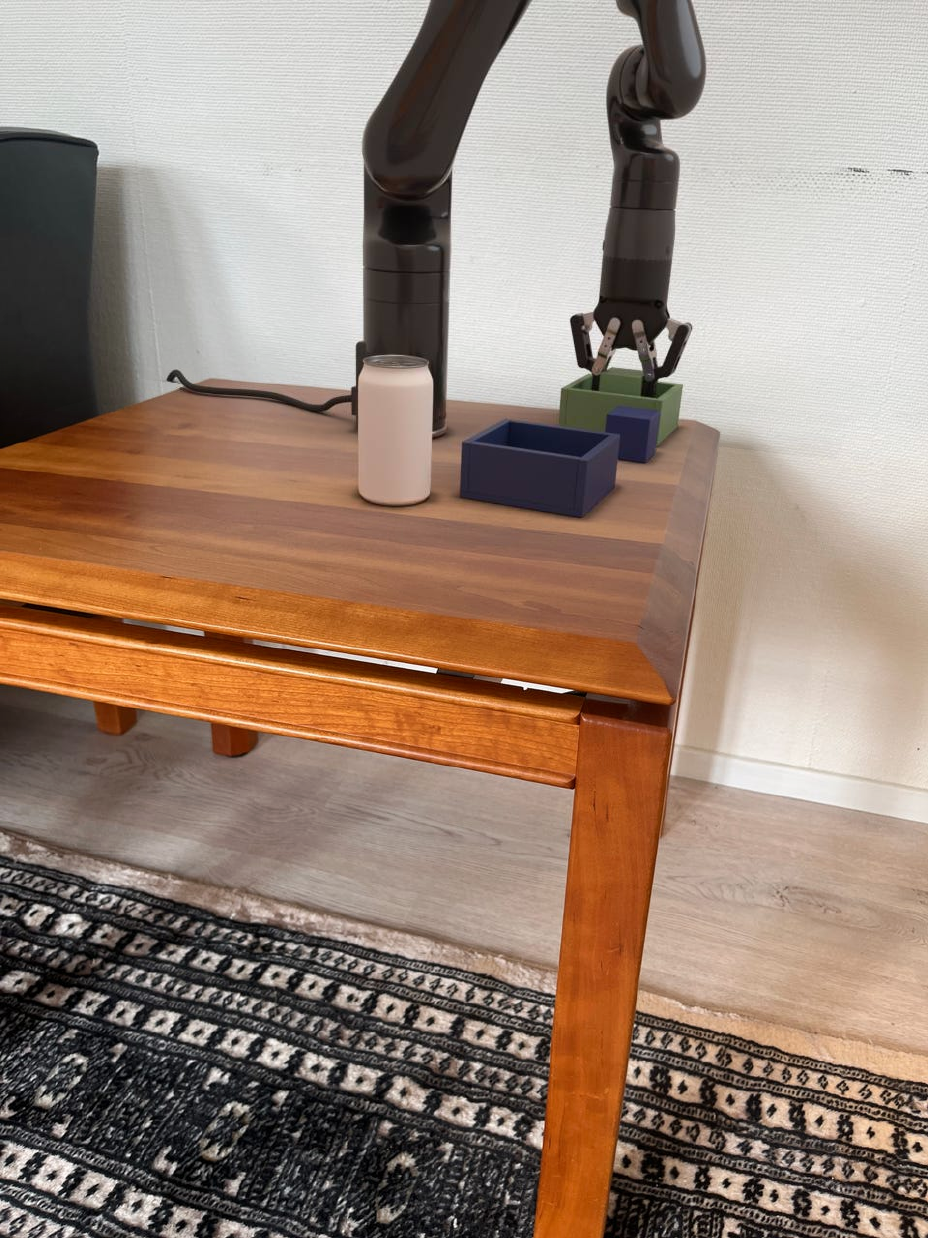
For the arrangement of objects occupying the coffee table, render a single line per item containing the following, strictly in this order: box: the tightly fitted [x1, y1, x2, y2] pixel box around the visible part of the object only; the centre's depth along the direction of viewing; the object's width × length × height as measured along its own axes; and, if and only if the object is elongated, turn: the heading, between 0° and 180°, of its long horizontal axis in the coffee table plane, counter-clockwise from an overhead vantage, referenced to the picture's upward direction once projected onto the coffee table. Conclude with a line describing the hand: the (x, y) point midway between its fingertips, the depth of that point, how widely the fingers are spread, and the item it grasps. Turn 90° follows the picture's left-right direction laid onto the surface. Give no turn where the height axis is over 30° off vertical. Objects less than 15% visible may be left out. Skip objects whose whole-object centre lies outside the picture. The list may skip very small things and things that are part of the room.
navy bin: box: [459, 418, 620, 518], centre depth 91 cm, size 12×11×5 cm
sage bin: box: [557, 372, 684, 448], centre depth 114 cm, size 12×11×5 cm
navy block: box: [605, 406, 660, 464], centre depth 104 cm, size 5×5×5 cm
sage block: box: [599, 366, 644, 396], centre depth 113 cm, size 5×5×5 cm
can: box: [357, 355, 433, 507], centre depth 86 cm, size 6×6×12 cm
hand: (621, 409), depth 114 cm, fingers closed on sage block, 4 cm apart
